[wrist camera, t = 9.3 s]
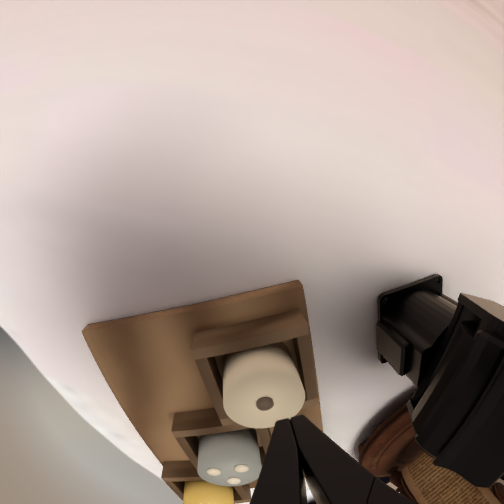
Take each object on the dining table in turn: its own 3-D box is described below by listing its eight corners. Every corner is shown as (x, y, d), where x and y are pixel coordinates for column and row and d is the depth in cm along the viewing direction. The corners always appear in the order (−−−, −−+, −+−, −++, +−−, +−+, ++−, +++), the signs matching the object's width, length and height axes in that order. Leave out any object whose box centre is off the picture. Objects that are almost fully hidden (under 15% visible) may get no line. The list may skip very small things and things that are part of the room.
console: (298, 279, 19) (312, 298, 16) (323, 463, 24) (331, 485, 21) (87, 324, 19) (68, 346, 15) (187, 486, 24) (186, 507, 21)
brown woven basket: (428, 357, 22) (554, 486, 3) (470, 393, 25) (552, 478, 6) (328, 454, 24) (383, 600, 5) (394, 467, 27) (447, 564, 7)
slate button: (250, 414, 20) (254, 453, 15) (262, 447, 21) (267, 483, 17) (191, 423, 19) (187, 462, 15) (209, 454, 20) (209, 490, 16)
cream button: (285, 328, 18) (300, 363, 14) (296, 381, 19) (309, 419, 15) (214, 344, 18) (212, 383, 14) (232, 395, 19) (234, 436, 15)
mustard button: (225, 465, 21) (226, 499, 17) (237, 486, 22) (240, 516, 18) (178, 469, 21) (174, 501, 17) (194, 489, 22) (193, 519, 18)
